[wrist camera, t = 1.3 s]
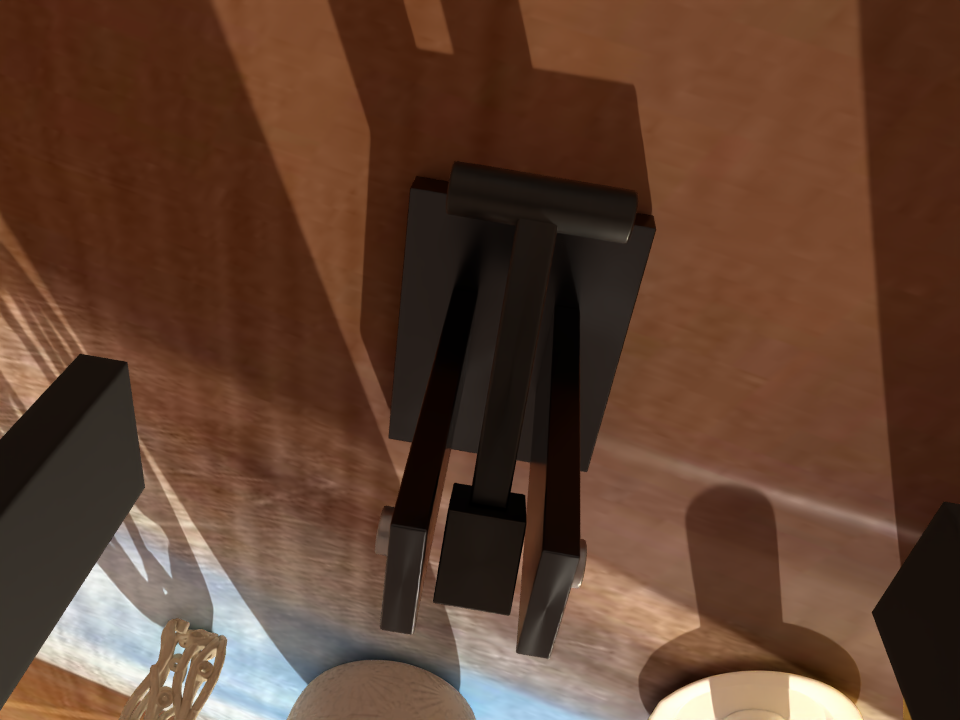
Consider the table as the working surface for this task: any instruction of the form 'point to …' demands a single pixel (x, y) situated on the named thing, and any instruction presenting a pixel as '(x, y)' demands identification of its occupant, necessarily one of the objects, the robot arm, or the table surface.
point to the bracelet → (179, 674)
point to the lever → (513, 366)
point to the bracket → (464, 387)
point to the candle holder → (756, 699)
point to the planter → (380, 694)
